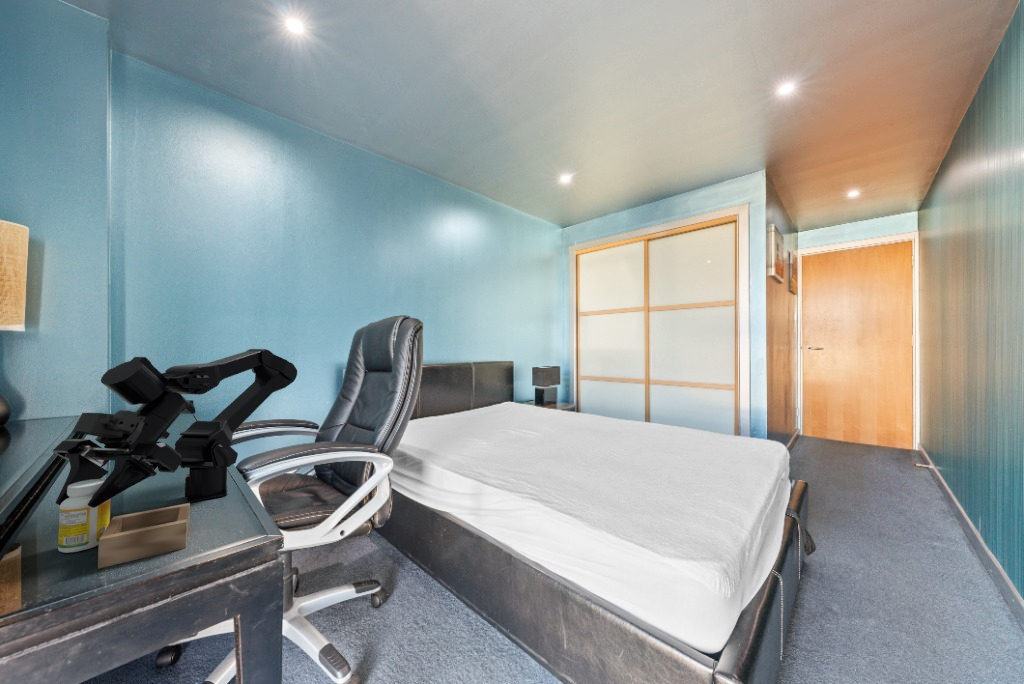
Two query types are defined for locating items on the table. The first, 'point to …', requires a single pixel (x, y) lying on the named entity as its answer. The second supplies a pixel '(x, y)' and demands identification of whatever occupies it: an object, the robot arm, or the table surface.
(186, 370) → the robot arm
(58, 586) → the table surface
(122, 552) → the walnut holder
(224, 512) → the table surface
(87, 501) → the supplement bottle
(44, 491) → the table surface
